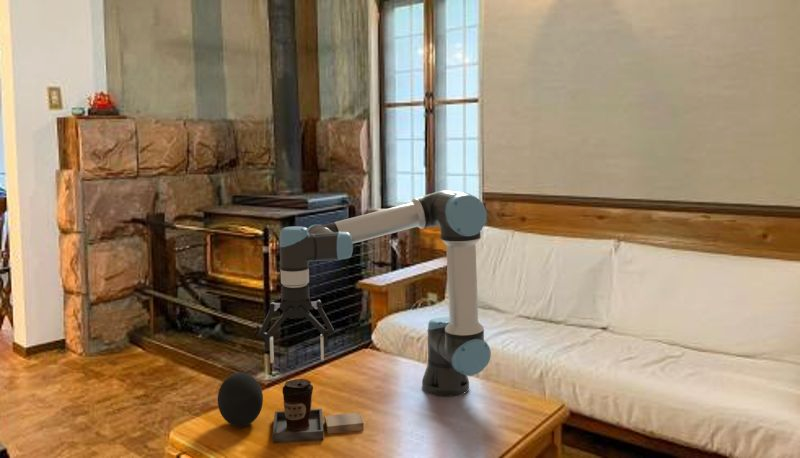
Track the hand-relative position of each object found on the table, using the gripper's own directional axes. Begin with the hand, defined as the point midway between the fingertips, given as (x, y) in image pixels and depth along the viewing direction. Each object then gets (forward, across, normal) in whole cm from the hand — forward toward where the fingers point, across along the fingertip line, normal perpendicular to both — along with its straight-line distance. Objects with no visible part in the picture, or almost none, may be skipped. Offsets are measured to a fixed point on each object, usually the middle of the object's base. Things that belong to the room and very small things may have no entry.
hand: (297, 360), depth 178 cm
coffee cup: (+20, 0, 0) cm, 20 cm away
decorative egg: (+20, +16, -5) cm, 27 cm away
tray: (+20, 0, 0) cm, 20 cm away
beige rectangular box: (+21, -12, 0) cm, 24 cm away
